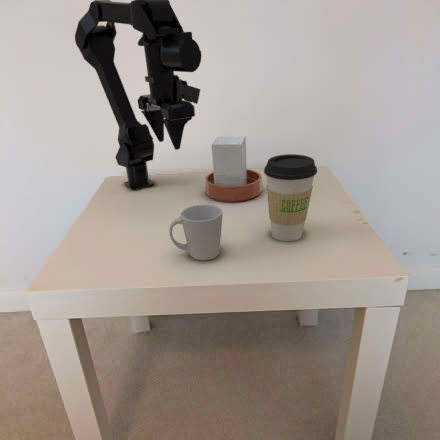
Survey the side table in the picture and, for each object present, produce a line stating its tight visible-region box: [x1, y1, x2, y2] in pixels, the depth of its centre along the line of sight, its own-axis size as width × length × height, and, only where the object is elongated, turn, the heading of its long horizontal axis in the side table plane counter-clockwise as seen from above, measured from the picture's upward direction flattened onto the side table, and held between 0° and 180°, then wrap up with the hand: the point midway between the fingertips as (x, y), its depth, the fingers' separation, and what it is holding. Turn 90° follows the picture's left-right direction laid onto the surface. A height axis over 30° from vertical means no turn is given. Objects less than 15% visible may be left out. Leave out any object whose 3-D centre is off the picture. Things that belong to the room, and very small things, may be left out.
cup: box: [168, 204, 223, 261], centre depth 74 cm, size 8×10×8 cm
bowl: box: [204, 168, 263, 203], centre depth 102 cm, size 14×14×4 cm
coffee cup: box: [263, 153, 318, 242], centre depth 78 cm, size 10×10×15 cm
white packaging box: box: [211, 136, 247, 186], centre depth 99 cm, size 7×7×13 cm
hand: (169, 145), depth 94 cm, fingers open, 9 cm apart
